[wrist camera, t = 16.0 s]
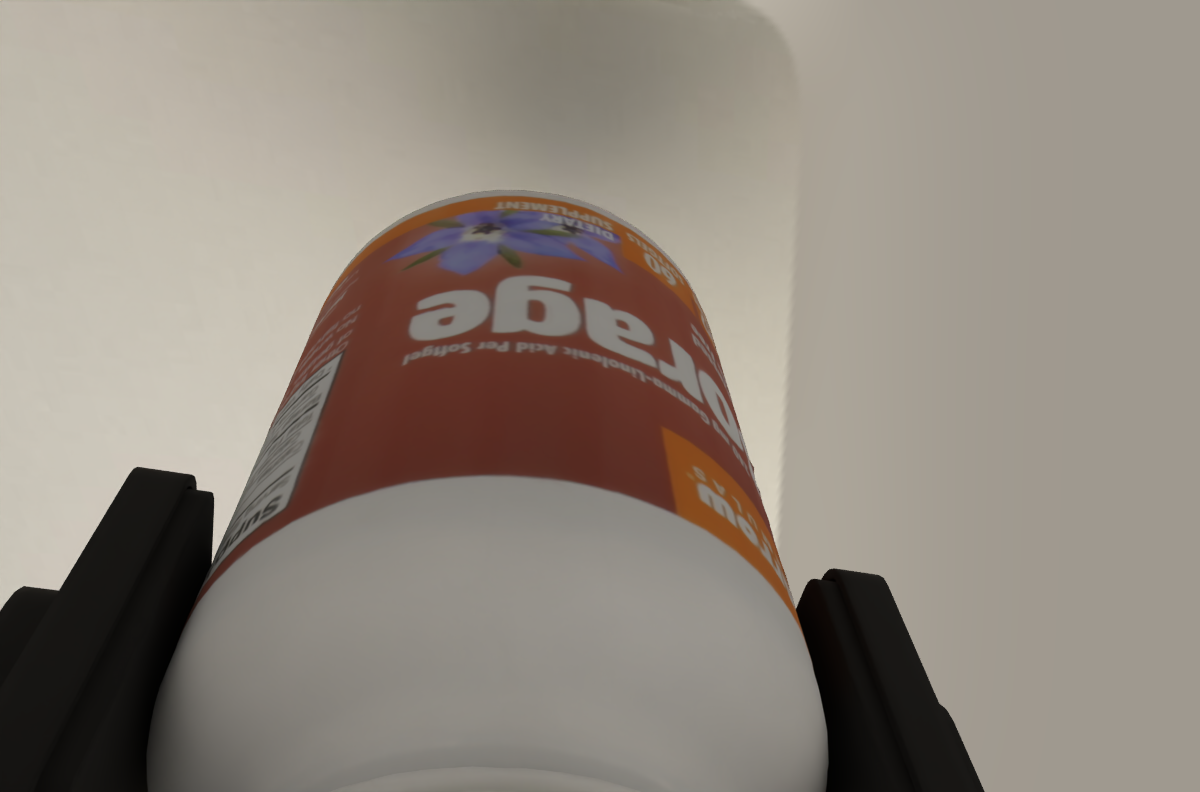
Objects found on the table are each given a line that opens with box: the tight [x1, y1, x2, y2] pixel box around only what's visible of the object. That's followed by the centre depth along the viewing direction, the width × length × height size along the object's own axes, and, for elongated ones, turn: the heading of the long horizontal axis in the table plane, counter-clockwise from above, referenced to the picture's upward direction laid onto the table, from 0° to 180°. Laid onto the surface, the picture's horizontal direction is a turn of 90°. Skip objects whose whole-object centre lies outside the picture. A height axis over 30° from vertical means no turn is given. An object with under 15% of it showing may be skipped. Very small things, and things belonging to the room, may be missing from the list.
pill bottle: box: [146, 190, 829, 792], centre depth 11 cm, size 6×6×11 cm
